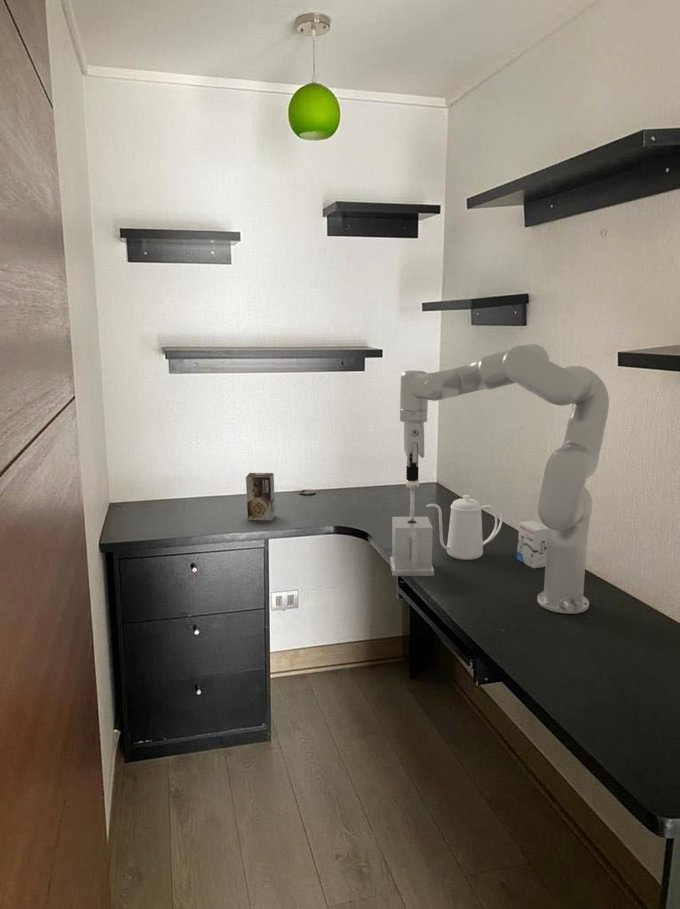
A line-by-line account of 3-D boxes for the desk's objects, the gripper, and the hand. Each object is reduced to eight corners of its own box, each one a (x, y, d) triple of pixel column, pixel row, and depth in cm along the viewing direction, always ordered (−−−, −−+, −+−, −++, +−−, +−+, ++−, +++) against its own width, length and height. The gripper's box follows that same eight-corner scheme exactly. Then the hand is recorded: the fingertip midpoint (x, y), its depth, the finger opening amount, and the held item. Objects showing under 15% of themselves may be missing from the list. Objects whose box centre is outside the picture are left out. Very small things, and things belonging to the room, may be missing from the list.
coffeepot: (418, 552, 212) (419, 494, 208) (491, 545, 219) (494, 487, 215) (432, 565, 202) (433, 503, 198) (508, 556, 209) (511, 496, 205)
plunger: (425, 544, 194) (426, 483, 191) (400, 544, 194) (401, 483, 191) (422, 536, 201) (423, 477, 198) (398, 536, 201) (399, 477, 198)
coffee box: (275, 515, 251) (274, 472, 248) (272, 520, 245) (270, 476, 242) (251, 515, 252) (249, 472, 249) (247, 520, 246) (245, 476, 243)
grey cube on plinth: (435, 579, 191) (436, 531, 189) (393, 579, 191) (393, 531, 189) (428, 561, 205) (429, 516, 202) (389, 561, 205) (390, 516, 202)
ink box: (515, 559, 207) (517, 521, 204) (529, 556, 208) (531, 519, 206) (533, 568, 199) (535, 530, 196) (547, 566, 200) (550, 528, 198)
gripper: (430, 420, 183) (428, 486, 187) (424, 411, 198) (422, 473, 202) (402, 420, 183) (401, 486, 187) (397, 411, 198) (396, 473, 202)
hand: (412, 479), depth 194 cm, fingers closed
